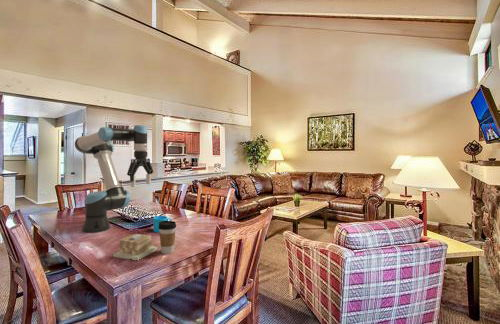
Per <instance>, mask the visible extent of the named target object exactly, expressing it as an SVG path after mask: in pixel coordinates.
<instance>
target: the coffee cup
mask: <svg viewBox="0 0 500 324" xmlns="http://www.w3.org/2000/svg"><path fill="white" fill-rule="evenodd" d="M158 227H159V230H160V232H158V233H159V241H160V242H159V243H160V253H161V254H164V255H168V254H169V255H170V254H172V253H174V251H175V250H174V249H175V239H176V228H177V225H176V221H174V220H172V221H170V220H167V221H161V222H159V226H158Z"/></svg>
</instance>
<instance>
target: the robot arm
mask: <svg viewBox="0 0 500 324" xmlns="http://www.w3.org/2000/svg"><path fill="white" fill-rule="evenodd" d="M114 141H115V142H133V150H134V151H133V157H134V158H131V160H130V164H129V167H128V170H127V173H126V175H127V176H128V177H129V181H130V188H136V176H135V175H136V173H137V171H138V169H140V167H143V168H144V170H145V172H146V174H145V184H146V185H151V184H152V183H151V181H152V180H151V179H152V175H153V173H154V171H153V170H154V169H153V166H152V163H151V160H150V158H147V157H148V127H147V126H146V125H142V124H135V125H134V126H133V128H120V127H119V128H118V127H109V126H105V127H100V128H99V129H98V132H94V133H92V134H89V135H81V136H79V137H77V138H76V139H75V141H74V147H75V149H76V150H77V151H78V152H80V153H82V154H87V155H88V154H89V155H93V158H94V159H96V160H97V163H98V167H99V169H100V173H101V176H102V179H103V183H104V185H105V190H100V191H92V192H91V193H90V192H89V193H88V194H86V195H85V197H84V211H85V212H84V215H85V219H84V222H83V224H82V228H81V229H82V230H81V231H82V232H83V233H87V234H88V233H89V234H92V233H94V234H95V233H102V232H105V231H107V230H109V229H110V228H111V222H109V218H108V215H107V212H109V211H114V210H119V209H124V208H126V207H127V206H129V204H130V202H131V194H130V192H129V190H126V189H125V188H124V186H122V185H121V183H120V180H119V178H118V175H117V172H116V168H115V165H114V163H113V159H112V154H113V152H114V149H115V148H114V143H113V142H114Z"/></svg>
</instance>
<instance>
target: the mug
mask: <svg viewBox="0 0 500 324" xmlns="http://www.w3.org/2000/svg"><path fill="white" fill-rule="evenodd" d="M168 220H169V221H173V220H172V219H171V218H170V217H168V216H166V215H157V216H153V226H152V227H153V232H154V233H159V232H160V230H159V227H158V226H159V222H161V221H168Z"/></svg>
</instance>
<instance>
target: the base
mask: <svg viewBox="0 0 500 324" xmlns="http://www.w3.org/2000/svg"><path fill="white" fill-rule="evenodd" d="M136 234H137V235H134V236H132V237H130V240H133V241H135V240H137V239H139V238H141V237H142V235H143V234H141V235H140V234H139V233H136ZM156 251H158V246H154V245H151V248H149V249H148V250H146V251H144V252H142V253H140V254H139V255H133V254H126V253H120V250H118V251H116V252H113V257H114V258H118V259H125V260H130V259H132V261H136V260H138V261H140V260H141V258H142V259H143V257H144V258H145V257H146V256H149V255H150V254H152V253H154V252H156ZM139 259H140V260H139Z"/></svg>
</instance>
